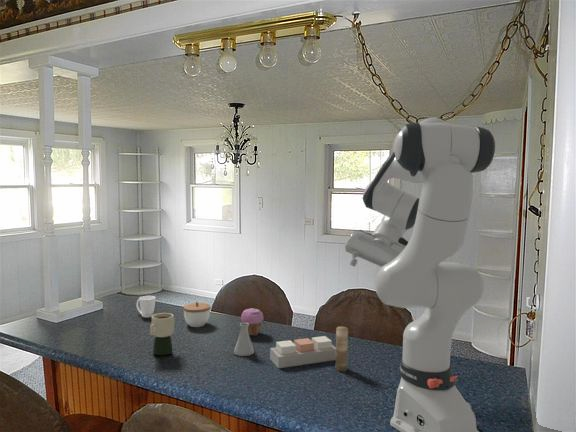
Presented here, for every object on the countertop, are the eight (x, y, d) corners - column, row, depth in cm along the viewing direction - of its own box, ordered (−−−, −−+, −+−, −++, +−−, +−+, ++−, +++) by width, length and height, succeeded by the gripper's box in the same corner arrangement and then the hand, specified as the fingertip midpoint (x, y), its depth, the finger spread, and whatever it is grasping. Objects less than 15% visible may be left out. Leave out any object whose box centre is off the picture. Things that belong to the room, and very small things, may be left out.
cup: (146, 319, 182) (146, 300, 182) (130, 315, 187) (130, 297, 187) (159, 315, 188) (159, 297, 188) (143, 311, 193) (143, 293, 193)
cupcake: (262, 338, 162) (262, 312, 161) (239, 337, 162) (239, 311, 161) (264, 330, 171) (264, 305, 170) (242, 330, 171) (242, 305, 170)
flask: (251, 357, 143) (251, 328, 143) (230, 355, 145) (230, 326, 144) (257, 349, 150) (257, 321, 150) (237, 348, 152) (237, 320, 151)
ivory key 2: (331, 349, 143) (331, 340, 143) (317, 351, 141) (318, 342, 141) (324, 344, 148) (325, 335, 148) (311, 345, 146) (311, 337, 146)
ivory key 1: (295, 354, 139) (296, 345, 138) (281, 355, 137) (281, 347, 137) (290, 348, 143) (290, 340, 143) (275, 350, 141) (276, 342, 141)
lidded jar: (177, 325, 175) (177, 302, 174) (197, 319, 184) (197, 297, 183) (196, 330, 169) (196, 307, 168) (215, 324, 178) (215, 301, 177)
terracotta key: (314, 351, 141) (314, 343, 141) (299, 353, 139) (300, 344, 139) (307, 346, 146) (307, 338, 145) (294, 348, 144) (294, 339, 144)
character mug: (166, 346, 152) (166, 310, 151) (182, 350, 148) (182, 313, 148) (142, 357, 142) (142, 318, 141) (158, 361, 139) (158, 321, 138)
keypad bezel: (337, 359, 143) (337, 349, 142) (278, 368, 135) (278, 357, 135) (326, 351, 150) (326, 340, 150) (269, 358, 142) (270, 348, 142)
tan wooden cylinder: (349, 370, 134) (350, 329, 133) (338, 372, 133) (339, 330, 132) (343, 366, 138) (344, 326, 137) (333, 367, 136) (334, 327, 135)
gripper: (356, 221, 141) (336, 251, 133) (416, 246, 133) (399, 279, 125) (355, 234, 145) (335, 263, 138) (413, 258, 137) (396, 290, 130)
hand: (366, 271), depth 131 cm, fingers open, 8 cm apart
